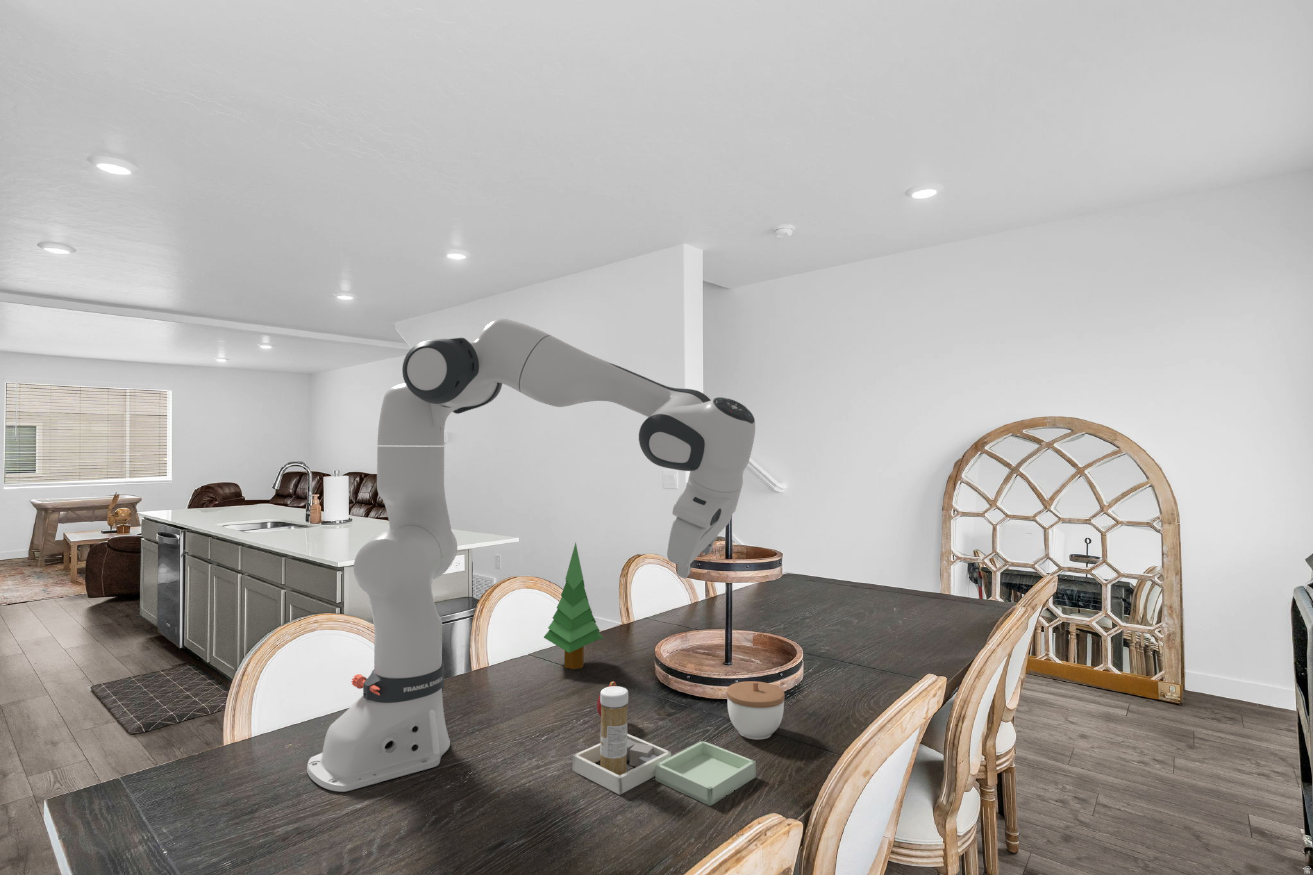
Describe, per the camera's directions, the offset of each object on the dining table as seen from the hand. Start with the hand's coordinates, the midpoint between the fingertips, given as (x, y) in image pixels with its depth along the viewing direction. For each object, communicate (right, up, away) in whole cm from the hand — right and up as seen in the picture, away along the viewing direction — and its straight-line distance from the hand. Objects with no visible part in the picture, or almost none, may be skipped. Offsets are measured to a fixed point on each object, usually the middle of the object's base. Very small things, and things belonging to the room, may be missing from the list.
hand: (694, 563), depth 115 cm
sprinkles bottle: (-14, -33, -8) cm, 37 cm away
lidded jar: (+12, -33, +8) cm, 37 cm away
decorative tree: (-27, -34, +45) cm, 62 cm away
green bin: (+1, -33, -9) cm, 34 cm away
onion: (-15, -33, +11) cm, 38 cm away
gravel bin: (-12, -33, -6) cm, 36 cm away
